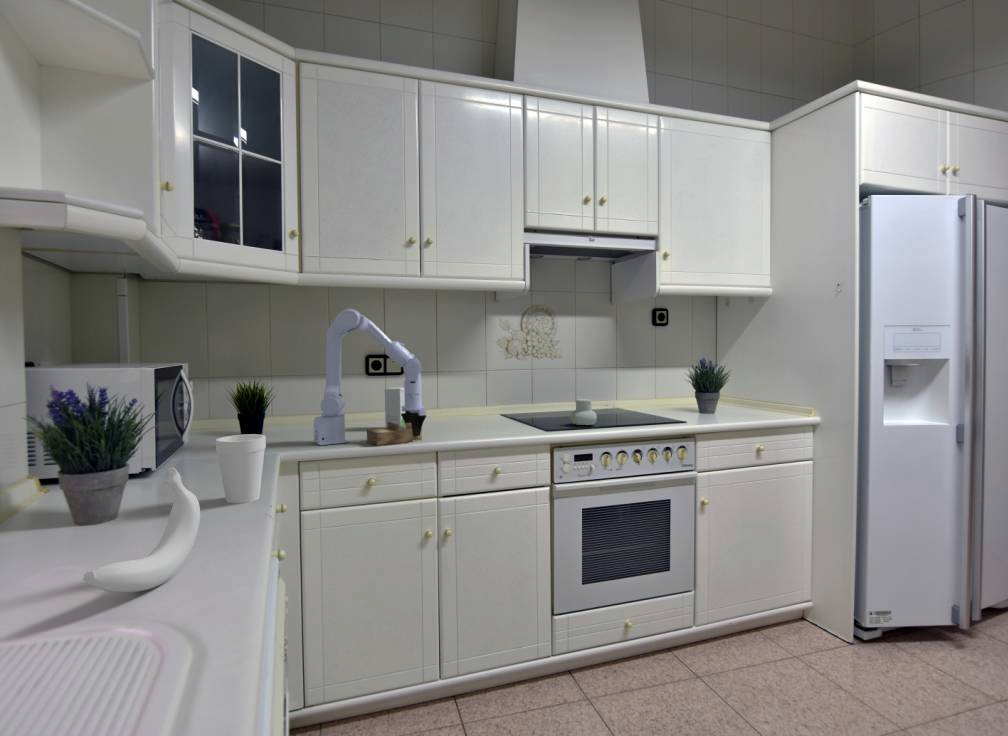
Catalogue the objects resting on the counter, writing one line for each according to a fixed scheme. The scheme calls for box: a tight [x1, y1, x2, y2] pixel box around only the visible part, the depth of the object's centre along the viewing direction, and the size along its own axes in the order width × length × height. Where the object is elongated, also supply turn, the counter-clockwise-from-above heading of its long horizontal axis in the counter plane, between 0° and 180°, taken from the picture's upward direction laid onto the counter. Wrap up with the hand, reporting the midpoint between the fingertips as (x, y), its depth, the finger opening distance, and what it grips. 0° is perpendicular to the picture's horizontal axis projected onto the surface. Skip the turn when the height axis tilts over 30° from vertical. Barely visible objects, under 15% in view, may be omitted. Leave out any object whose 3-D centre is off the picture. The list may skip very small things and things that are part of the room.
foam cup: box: [215, 433, 267, 504], centre depth 118 cm, size 10×9×13 cm
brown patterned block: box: [406, 423, 423, 441], centre depth 188 cm, size 4×4×6 cm
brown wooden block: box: [366, 426, 414, 447], centre depth 183 cm, size 12×9×4 cm
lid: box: [370, 422, 411, 433], centre depth 183 cm, size 11×8×3 cm
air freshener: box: [570, 398, 598, 426], centre depth 216 cm, size 11×8×10 cm
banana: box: [82, 466, 201, 593], centre depth 77 cm, size 5×19×15 cm, turn 178°
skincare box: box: [384, 387, 406, 428], centre depth 211 cm, size 8×7×16 cm
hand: (413, 434), depth 188 cm, fingers closed on brown patterned block, 4 cm apart
